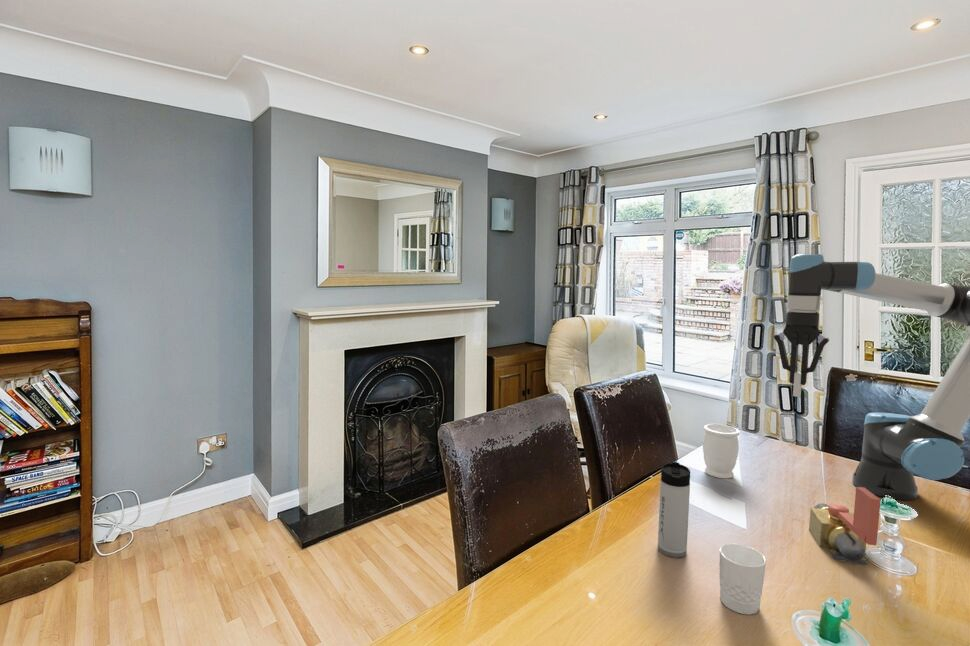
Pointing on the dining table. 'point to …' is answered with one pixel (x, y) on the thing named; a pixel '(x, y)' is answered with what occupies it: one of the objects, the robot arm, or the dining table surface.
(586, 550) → the dining table surface
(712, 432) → the jar
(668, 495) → the travel mug
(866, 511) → the lever
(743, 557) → the white cup
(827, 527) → the valve body
